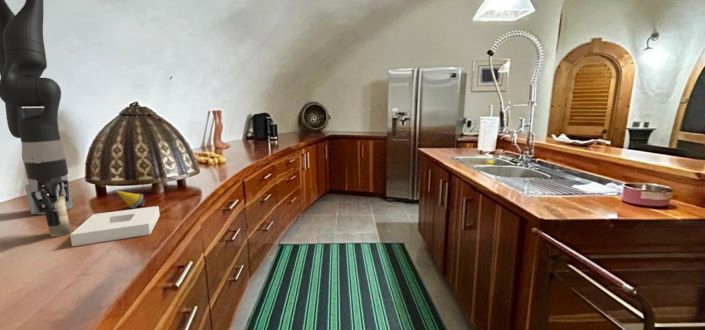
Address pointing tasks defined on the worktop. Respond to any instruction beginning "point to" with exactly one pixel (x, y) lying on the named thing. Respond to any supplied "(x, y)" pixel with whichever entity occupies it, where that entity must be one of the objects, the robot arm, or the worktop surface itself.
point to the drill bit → (132, 199)
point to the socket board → (116, 226)
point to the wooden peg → (61, 220)
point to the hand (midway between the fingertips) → (58, 222)
